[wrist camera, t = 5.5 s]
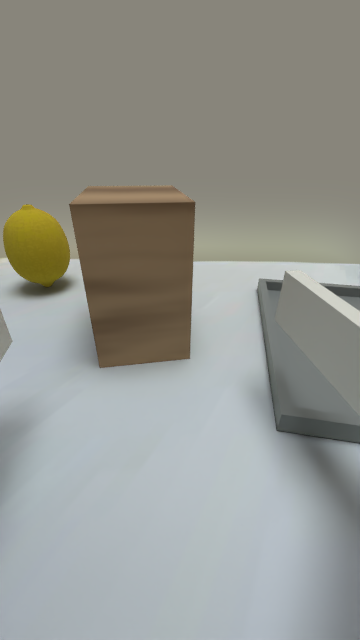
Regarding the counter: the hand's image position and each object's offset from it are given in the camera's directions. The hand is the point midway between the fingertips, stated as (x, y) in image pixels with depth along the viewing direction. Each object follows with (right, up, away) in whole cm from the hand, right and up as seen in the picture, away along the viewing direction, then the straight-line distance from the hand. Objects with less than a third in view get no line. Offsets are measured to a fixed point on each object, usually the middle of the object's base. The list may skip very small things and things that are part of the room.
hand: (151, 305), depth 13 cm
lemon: (-12, +3, +16) cm, 20 cm away
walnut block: (-2, -2, +9) cm, 9 cm away
